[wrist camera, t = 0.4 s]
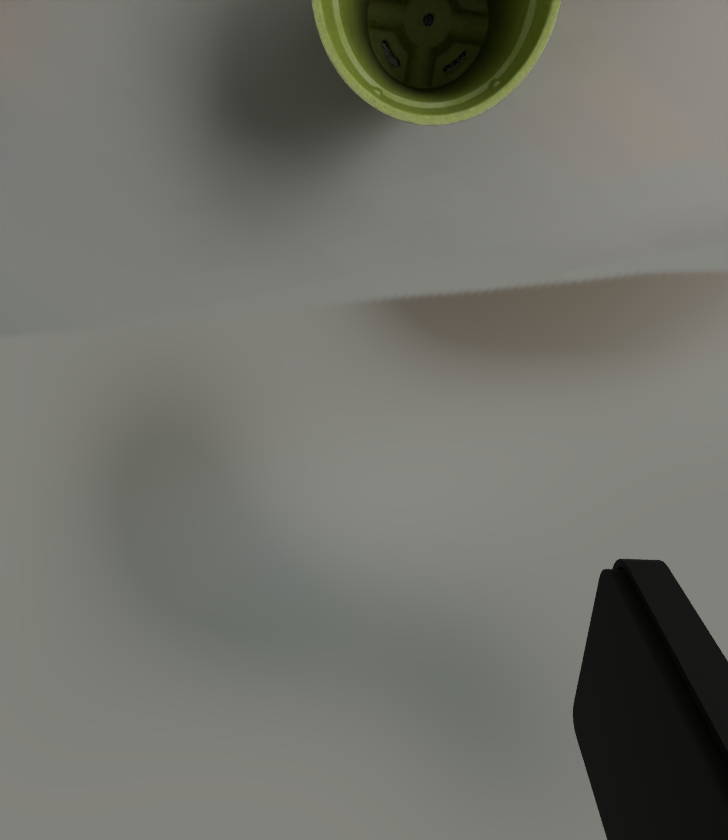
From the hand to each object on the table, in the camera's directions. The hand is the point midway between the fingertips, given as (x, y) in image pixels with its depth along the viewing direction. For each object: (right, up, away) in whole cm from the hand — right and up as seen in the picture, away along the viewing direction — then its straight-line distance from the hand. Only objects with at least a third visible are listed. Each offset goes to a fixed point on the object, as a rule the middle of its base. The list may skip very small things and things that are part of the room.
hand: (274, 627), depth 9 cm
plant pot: (+4, +23, +22) cm, 32 cm away
